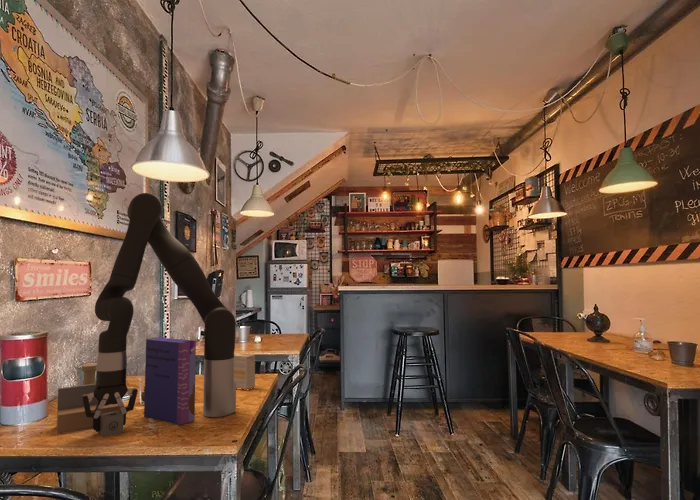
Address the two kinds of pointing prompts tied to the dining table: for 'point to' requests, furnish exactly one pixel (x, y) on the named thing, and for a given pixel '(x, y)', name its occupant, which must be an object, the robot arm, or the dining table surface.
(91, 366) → the handle
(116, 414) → the dice cube
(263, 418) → the dining table surface
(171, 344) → the cereal box
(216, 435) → the dining table surface
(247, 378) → the supplement box
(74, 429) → the board
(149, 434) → the dining table surface
